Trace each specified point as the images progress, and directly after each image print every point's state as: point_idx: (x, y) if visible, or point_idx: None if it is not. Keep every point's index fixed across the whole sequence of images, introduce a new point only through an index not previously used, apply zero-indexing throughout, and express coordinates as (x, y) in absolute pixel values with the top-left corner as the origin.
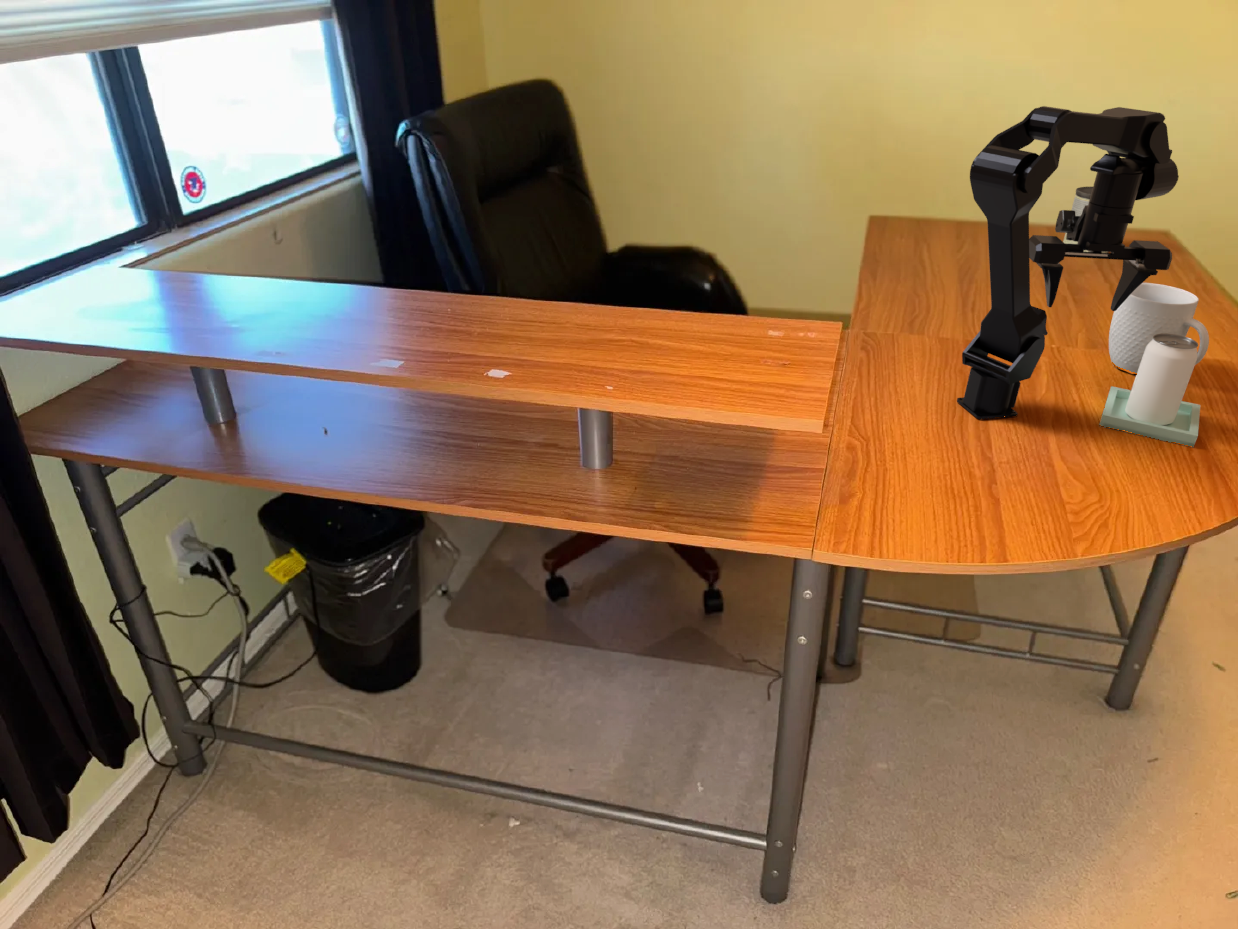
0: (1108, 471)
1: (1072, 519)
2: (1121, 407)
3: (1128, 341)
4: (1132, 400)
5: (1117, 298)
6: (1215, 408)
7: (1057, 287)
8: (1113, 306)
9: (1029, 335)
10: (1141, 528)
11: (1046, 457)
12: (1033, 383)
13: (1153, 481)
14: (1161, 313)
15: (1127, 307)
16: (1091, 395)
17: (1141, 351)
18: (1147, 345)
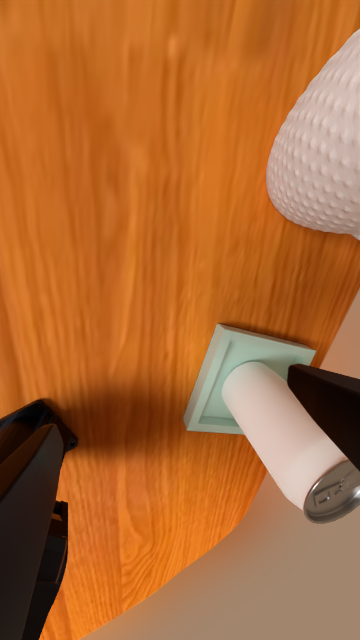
0: (170, 504)
1: (125, 581)
2: (222, 368)
3: (308, 210)
4: (231, 411)
5: (329, 423)
6: (336, 312)
7: (19, 631)
8: (298, 390)
9: None
10: (175, 563)
11: (111, 510)
12: (108, 308)
13: (205, 501)
14: None
15: None
16: (195, 326)
17: (316, 228)
18: (288, 475)
